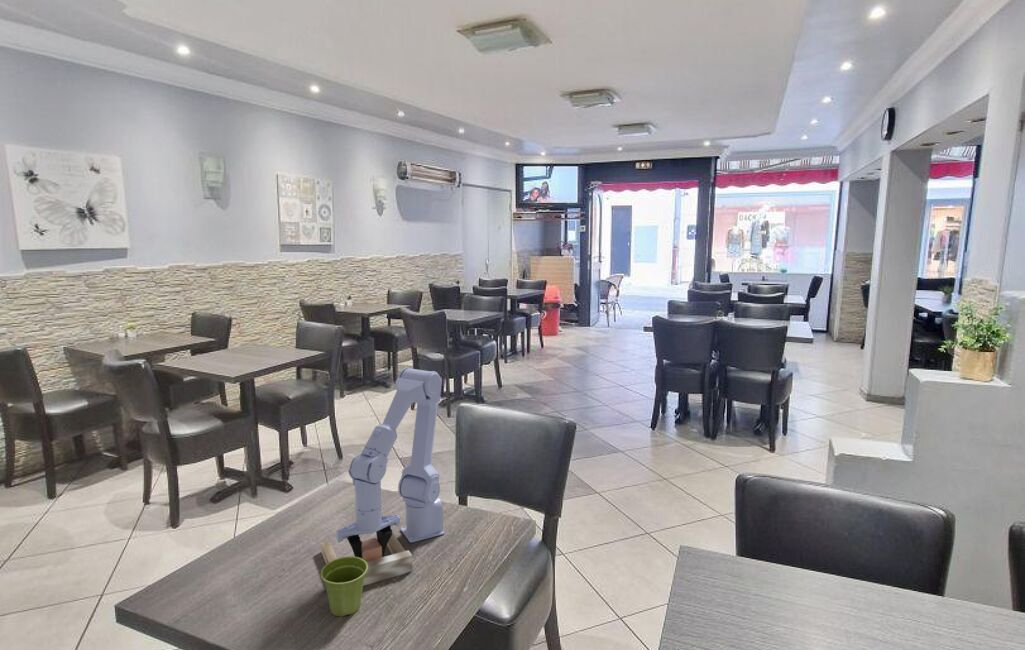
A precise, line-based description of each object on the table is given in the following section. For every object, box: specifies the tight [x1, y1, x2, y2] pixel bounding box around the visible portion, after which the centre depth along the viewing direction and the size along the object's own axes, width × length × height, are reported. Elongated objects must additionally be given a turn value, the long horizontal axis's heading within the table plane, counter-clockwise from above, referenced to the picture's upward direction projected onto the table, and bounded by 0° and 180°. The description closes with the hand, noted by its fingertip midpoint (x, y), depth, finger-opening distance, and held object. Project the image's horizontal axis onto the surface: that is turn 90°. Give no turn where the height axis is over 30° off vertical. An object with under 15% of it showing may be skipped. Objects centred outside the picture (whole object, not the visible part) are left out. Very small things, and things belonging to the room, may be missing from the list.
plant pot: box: [320, 556, 368, 617], centre depth 113 cm, size 9×9×9 cm
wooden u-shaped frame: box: [320, 531, 413, 587], centre depth 130 cm, size 17×18×4 cm
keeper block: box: [361, 537, 382, 562], centre depth 126 cm, size 4×4×6 cm
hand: (369, 560), depth 126 cm, fingers closed on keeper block, 4 cm apart
